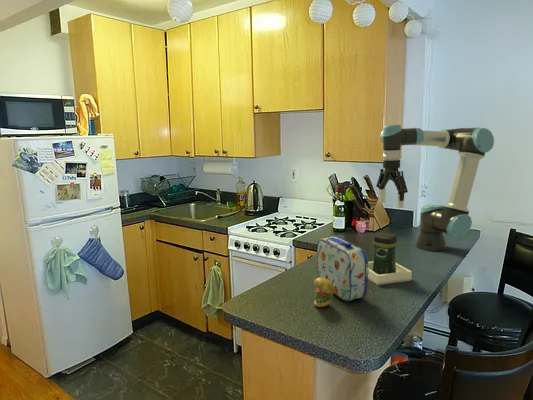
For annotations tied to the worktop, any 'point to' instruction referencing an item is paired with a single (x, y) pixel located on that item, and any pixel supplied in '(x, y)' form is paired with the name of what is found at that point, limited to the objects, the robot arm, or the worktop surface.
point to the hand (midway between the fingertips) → (391, 205)
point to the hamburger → (323, 292)
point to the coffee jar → (384, 253)
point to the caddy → (389, 275)
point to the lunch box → (343, 267)
